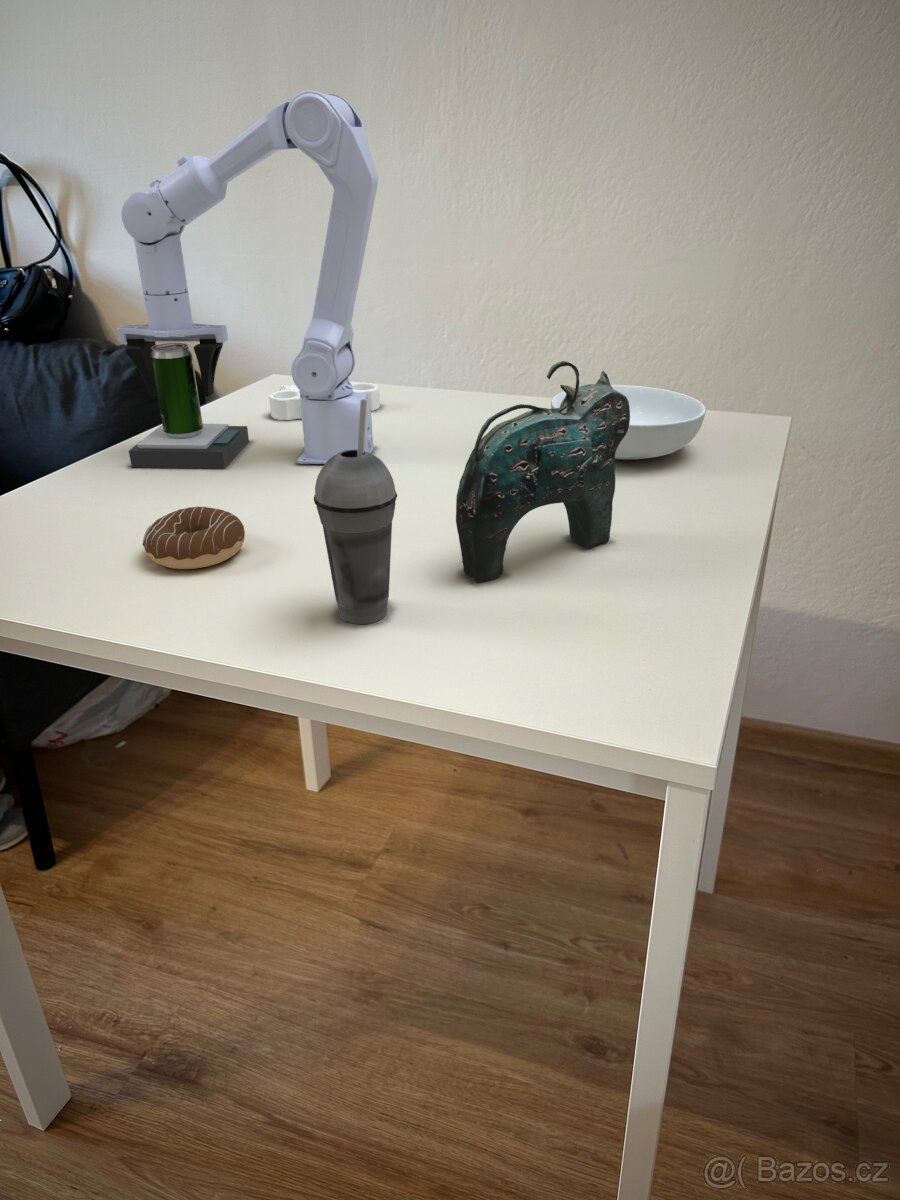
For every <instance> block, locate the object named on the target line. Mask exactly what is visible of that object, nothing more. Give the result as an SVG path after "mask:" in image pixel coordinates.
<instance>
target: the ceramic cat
mask: <svg viewBox="0 0 900 1200" xmlns="http://www.w3.org/2000/svg"><path fill="white" fill-rule="evenodd" d="M562 367H570V368H571V369H572V370H573V372H574V374H575V375H574V376H575V387H573V386H570V385H566V384H560V385H559V386H560V389H562V391H563V392H564V391H565V393H566V396H565V398H564V399H563V401H562V402H561V405H560V408H554V409H551V408H549V407H539V406H535V405H531V404H522V403H520V404H519V403H518V404H515V405H512V406H509V407H507V408H504V409H502V410H500V411H498V412H496V413H495V414H493V415H492V416H490V417H489V418H487V419H486V421H485V422H484V424H483V425H482V426H481V428H480V430H479V432H478V435H477V437H476V440H475V444H474V448H473V449H472V450H471V453H469V454H470V455H469V457H468V459H467V461H466V463H465V467H464V470H463V473H462V475H461V477H460V480H459V484H458V488H457V492H456V497H455V498H456V499H455V524H456V525H455V526H456V531H457V535H458V542H459V548H460V554H461V561H462V568H463V569H462V570H463V573H464V575H465V576H467V577H469V578H471V579H473V580H474V581H475V582H477V583H479V584H480V583H484V582H487V581H492V580H495V579H498V578H499V577H501V576H502V575H503V573H504V559H505V553H506V550H507V544H508V540H509V537H510V535H511V533H512V532H513V530H514V529H515V527H516V526H517V524H518V523H519V522H520V520H522V518H523V517H524V516H526V515H527V514H528V513H530V512H531V511H533V510H536V509H538V508H541V507H544V506H548V505H555V504H563V506H564V508H565V511H566V515H567V521H568V529H569V530H568V531H569V538H570V540H571V541H572V542H574V543H575V544H577V545H579V546H581V547H584V548H586V549H587V550H589V549H591V548H593V547H595V546H597V545H600V544H605V543H608V542H609V541H610V537H611V527H612V522H613V520H612V519H613V501H614V497H615V493H616V459H615V453H616V450H617V447H618V446H619V444H620V442H621V441H622V439H623V438H624V437H625V435H626V433H627V431H628V428H629V423H630V406H629V401H628V399H627V397H626V396H625V395H623V394H622V393H620V392H618V391H616V390H614V389H613V388H612V386H611V385H612V384H611V382H610V379H609V376H608V374H607V373H606V371H604V370H602V371H601V373H600V375H599V379H597V381H596V382H595V383H589V384H584V385H580V372H579V369H578V368H577V365H575V364H573V363H572V362H569V361H566V360H561V361H558V362H556V363H555V364H552V365H551V367H550V368H549V369H548V371H547V375H546V378H547V379H548V380H549V381H550V379H551V378H552V376H553V375H554V374H555V372H556V371H557V370H559V369H560V368H562ZM521 409H527V410H528V409H529V410H528V411H526V412H524V413H521V414H519V415H517V416H515V417H513V418H510V419H507V420H504V421H502V422H500V423H498V424H496V425H495V426H493V427H492V428H491V429H490V430H489V431H488V429H489V428H490V426H491V424H492V423H494V421H496V420H497V419H499V418H501V417H503V416H505V415H507V414H509V413H511V412H513V411H516V410H521ZM487 431H488V432H487ZM486 432H487V433H486ZM485 433H486V434H485Z"/></svg>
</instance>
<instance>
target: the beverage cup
mask: <svg viewBox="0 0 900 1200" xmlns="http://www.w3.org/2000/svg"><path fill="white" fill-rule="evenodd" d="M366 405H367V400H364V399H362V400H361V403H360V419H359V435H358V450H346V451H343V452H340V453H338V454H336V455H334V456H333V457H331V458H330V459H329V460H328V461H327V462H326V463H325V464H323V466H322V467H321V469H320V471H319V473H318V475H317V478H316V481H315V486H314V495H313V502H314V505H315V506H316V510H317V513H318V517H319V521H320V525H322V530H323V536H324V541H325V546H326V547H325V548H326V552H327V553H326V554H327V558H328V564H329V569H330V575H331V580H332V586H333V591H334V597H335V602H336V604H337V608H338V615H339V618H340V619H341V620H342V621H343V622H347V623H348V624H353V625H354V624H355V625H368V624H373V623H376V622H379V621H380V620H383V619H384V618H386V616H387V614H388V604H389V598H390V597H389V596H390V581H391V579H390V577H391V557H392V534H393V532H392V531H393V519H394V517H395V510H396V501H397V498H398V493H397V491H396V486H395V485H396V484H395V482H394V478H393V476H392V474H391V472H390V469H389V468H388V467H387V466H386V464H385V462H383V460H381V459H380V458H379V457H378V456H376V455H375V454H373V453H372V452H371V453H369V452H366V451H364V438H365V422H366Z"/></svg>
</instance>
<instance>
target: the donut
mask: <svg viewBox="0 0 900 1200" xmlns="http://www.w3.org/2000/svg"><path fill="white" fill-rule="evenodd" d="M245 538H246V531H245V526H244V524H243V523H242V521H241V519H240V518H239V517H238V516H236V515H235V514H233V513H231V512H229V511H227V510H224V509H220V508H214V507H208V506H189V507H185V508H179V509H176V510H174V511H172V512H169V513H167V514H164V515H163V516H161V517H159V518H157V519H156V520H154V522H153V523H151V524H150V525H149V526H148V527H146V530H145V532H144V535H143V539H142V547H143V548H144V551H145V553H146V555H147V556H148V557H149V559H151V560H152V562H154V563H156V564H158V565H160V566H163V567H166V568H169V569H175V570H195V569H201V568H208V567H211V566H213V565H218V564H221V563H222V562H225V561H226V560H229V559H231V558H232V557H233V556H235V555H236V554H237V553H238V552H239V551H240V550H241V548H242V547H243V544H244V542H245Z"/></svg>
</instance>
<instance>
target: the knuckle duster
mask: <svg viewBox="0 0 900 1200" xmlns="http://www.w3.org/2000/svg"><path fill="white" fill-rule="evenodd" d="M349 381H350V380H349ZM350 383H351V384H352V386H353V391H354V392H357V393H365V394H368V395H369V398H370V403H371V412H374V411H376V410H378V409H379V408H380V407H381V401H380V387H379V385H377V384H375V383H370V382H355V381H350ZM279 389H280V390H278V391H273V392H272V393H270V394H269V396H268V399H269V400H268V401H269V409H270V415H271V418H273V419H275V420H277V421H278V420H279V421H292V420H293V421H294V420H302V414H301V403H300V393H299V389H298V388H297V386H296V385H295V384H291V385H287V384H282V385H280V387H279Z"/></svg>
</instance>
